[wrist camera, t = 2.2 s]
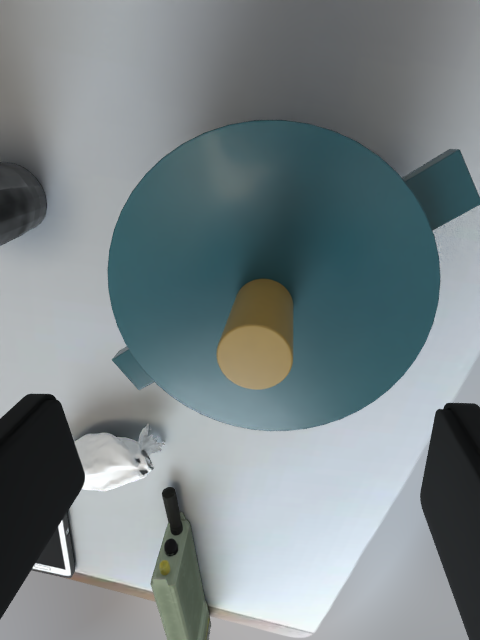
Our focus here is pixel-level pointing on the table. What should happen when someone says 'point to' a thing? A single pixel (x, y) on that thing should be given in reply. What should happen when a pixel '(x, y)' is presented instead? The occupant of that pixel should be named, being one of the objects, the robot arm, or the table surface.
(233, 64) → the table surface
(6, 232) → the beverage cup
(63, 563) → the cell phone
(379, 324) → the lid
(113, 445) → the white tied bag
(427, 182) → the teal cooking pot
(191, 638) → the handheld radio
